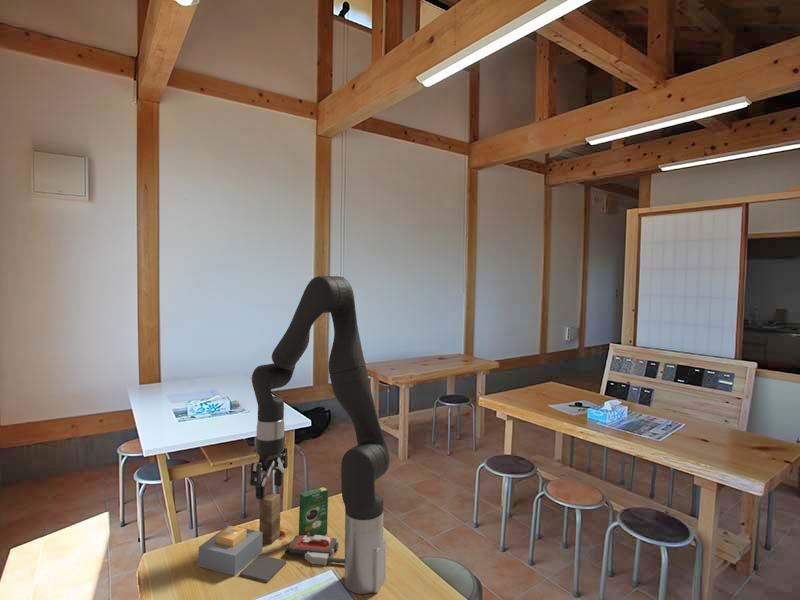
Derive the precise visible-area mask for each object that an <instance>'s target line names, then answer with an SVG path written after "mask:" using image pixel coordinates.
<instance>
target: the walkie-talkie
mask: <svg viewBox="0 0 800 600" xmlns="http://www.w3.org/2000/svg"><path fill="white" fill-rule="evenodd" d="M338 549H339V542H337V538H335V537H331V536H330V535H326V534H324V535H314V536H307V535H305V536H303V535H299V534H297V535H294V537H293V539H292V541H291V542H290V544H289V547H288V548H287V549H285V550H284V555H286V556H289V557H290V558H296V559H297V558H298V559H304V560H306V561H308V562H309V564H312V565H321V566H327V565H328V563H329V564H333V563H336V564H344V565H345V558H339V557H334V553H335V551H336V552H338Z"/></svg>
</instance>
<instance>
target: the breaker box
mask: <svg viewBox="0 0 800 600" xmlns="http://www.w3.org/2000/svg"><path fill="white" fill-rule="evenodd" d="M229 526H232V525H231V524H230V525H229V524H228V525H227V526H225V527H224V528H222V529H221V530H219V532H217V533H216V534H215V535H213V536H211V537H210V538H209V539H207V540H206V541H205V542H203V543H202V544H201V545H199V546H198V568H202V569H206V570H211V571H215V572H219V573H223V574H226V575H229V576H234V577H235V576H237V575H238V574H240V572H241V571H243V570H244V569H245V568H246V567H247V566H248V565H249V564H250V563H251V562H252V561H253V560H254V559H256V558H257V557H258V556H259V555H260V554H261V553H262V552H263V542H262V536H263V532H259V531H258V530H255V529H250V528H249V529H248V528H245V527H244V528H243V527H242V528H243V529H247V530H246V538H245V539H243V540H242V541H241V542H240V543H239V544H237V545H236V546H235V547H234V548H232V547H228V546H224V545H220V544H216V536H217V535H218V534H220V533H221V532H222V531H224V530H225V529H226V528H228V527H229ZM233 526H234V525H233ZM234 527H238V528H241V527H240V526H234Z"/></svg>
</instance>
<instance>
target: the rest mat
mask: <svg viewBox="0 0 800 600" xmlns="http://www.w3.org/2000/svg"><path fill="white" fill-rule="evenodd" d="M286 564H287V560H285V559H280V558H276V557H272V556H269V555H264V554H263V555H262V554H258V555H257V556H256V557H255V558H254V559H253V560H252V561H251V562H250V563H248V564H247V565H246V566H245V567H244V568H243V569H242V570H241V571H240V572H239V576H240V577H243V578H248V579H252V580H256V581H260V582H263V583H269V582H270V581H271V580H272V579H273V578H274V577H275V576H276V575H277V573H278V572H279V571H280V570H281V569H282V568H283V567H284V566H285V565H286Z"/></svg>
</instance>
